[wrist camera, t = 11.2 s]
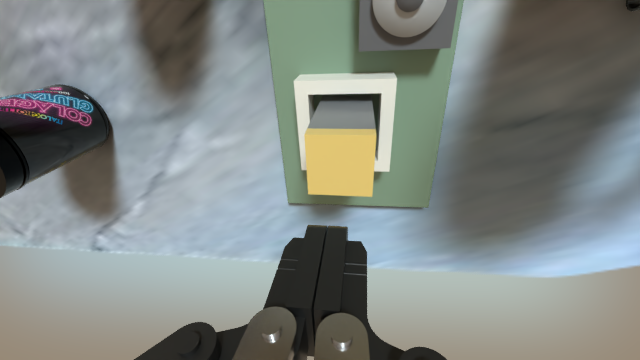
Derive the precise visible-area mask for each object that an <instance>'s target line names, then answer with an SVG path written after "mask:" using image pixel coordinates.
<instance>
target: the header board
mask: <svg viewBox="0 0 640 360" xmlns="http://www.w3.org/2000/svg"><path fill="white" fill-rule="evenodd" d="M263 1H264V9H265V17H266V25H267V33H268V41H269V49H270V58H271V66H272V74H273V82H274V90H275V98H276V106H277V114H278V122H279V131H280V139H281V147H282V155H283V163H284V171H285V179H286V187H287V196H288V203H304V204H334V205H365V206H395V207H425V208H428V206H429V200H430V194H431V188H432V182H433V177H434V171H435V165H436V159H437V153H438V147H439V142H440V136H441V130H442V124H443V118H444V112H445V107H446V101H447V95H448V89H449V83H450V77H451V72H452V66H453V60H454V54H455V48H456V42H457V37H458V31H459V25H460V19H461V13H462V7H463V2H464V0H263ZM323 95H372V103H373V111H374V119H375V128H376V149H375V164H374V179H373V194H372V197H365V196H340V195H314V194H308V183H307V168H306V153H305V137H304V134H305V132H306V130H307V128H308V126H309V124H310V122H311V119H312V117H313V115H314V113H315V111H316V109H317V107H318V105H319V103H320V100H321V98H322V96H323Z"/></svg>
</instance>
